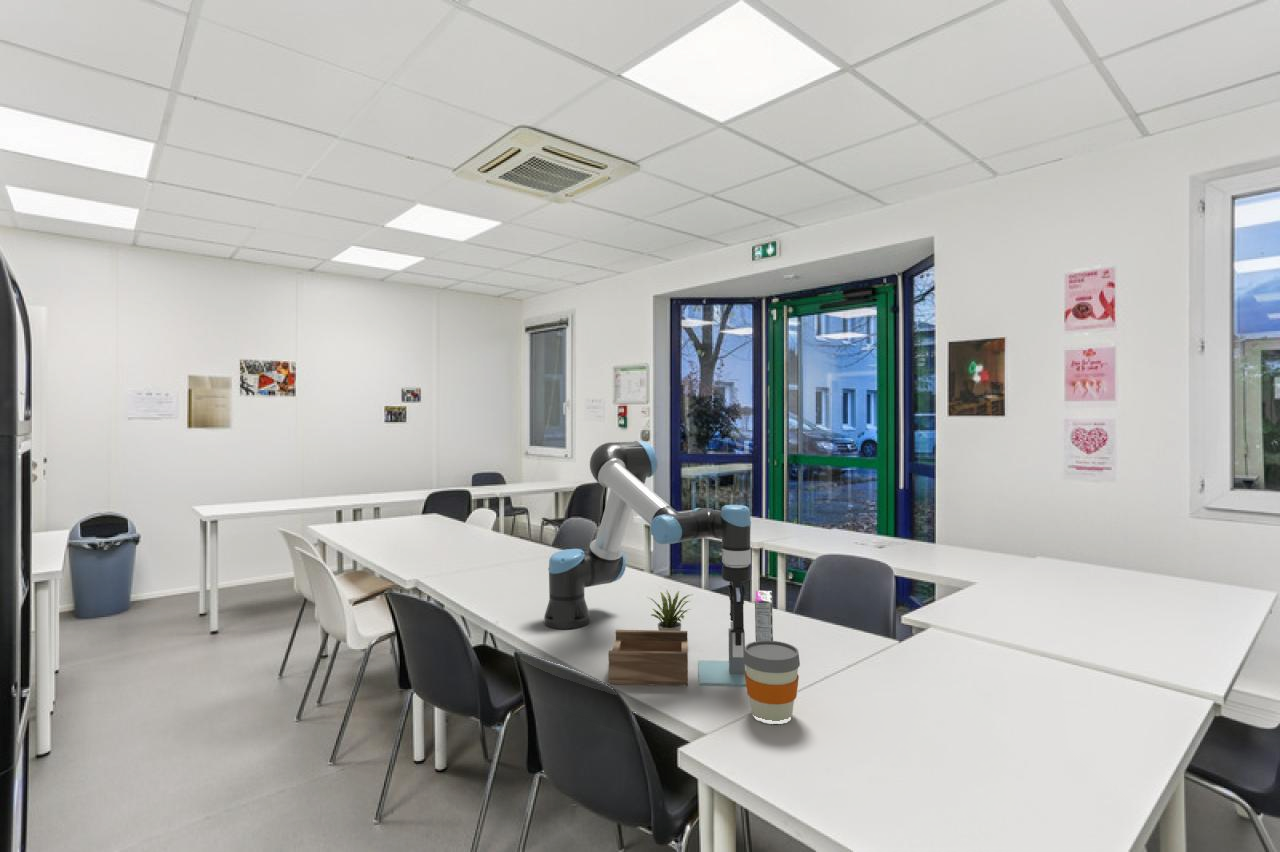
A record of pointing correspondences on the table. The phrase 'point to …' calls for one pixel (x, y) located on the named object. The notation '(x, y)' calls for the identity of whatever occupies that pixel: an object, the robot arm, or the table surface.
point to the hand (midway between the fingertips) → (736, 651)
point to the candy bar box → (763, 616)
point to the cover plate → (724, 669)
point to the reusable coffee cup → (771, 678)
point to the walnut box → (649, 658)
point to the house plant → (670, 613)
